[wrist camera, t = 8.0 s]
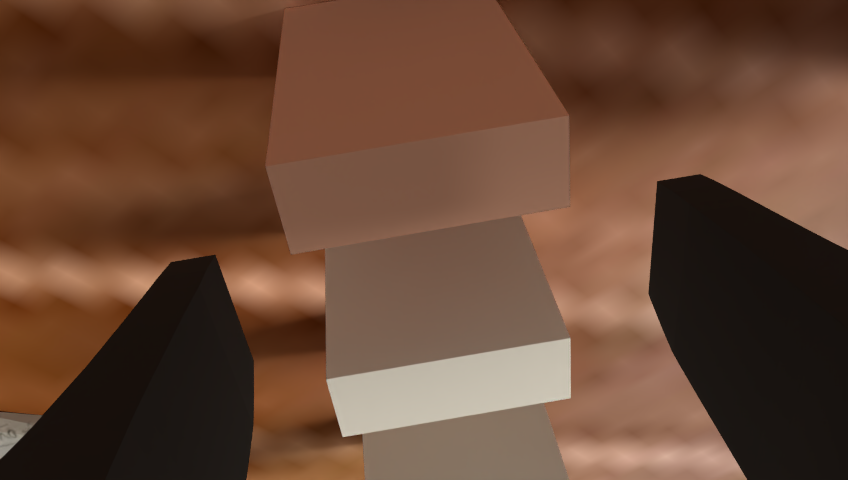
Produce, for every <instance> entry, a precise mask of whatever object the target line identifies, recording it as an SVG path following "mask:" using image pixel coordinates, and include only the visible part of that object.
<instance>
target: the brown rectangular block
mask: <svg viewBox="0 0 848 480" xmlns="http://www.w3.org/2000/svg"><path fill="white" fill-rule="evenodd" d="M265 167H266V171H267V174H268V177H269V181H270V184H271V188H272V191H273V195H274V198H275V201H276V205H277V208H278V212H279V215H280V219H281V222H282V225H283V229H284V232H285V236H286V239H287V243H288V246H289V249H290V253H291V254H297V253H303V252H309V251H315V250H320V249H326V248H332V247H338V246H344V245H350V244H356V243H362V242H367V241H373V240H379V239H385V238H391V237H397V236H403V235H408V234H414V233H420V232H426V231H432V230H438V229H444V228H449V227H455V226H461V225H467V224H473V223H479V222H485V221H491V220H496V219H502V218H508V217H514V216H520V215H526V214H532V213H537V212H543V211H549V210H555V209H561V208H567V207H570V140H569V114H568V113H567V111H566V109H565V108H564V106H563V105H562V103H561V102H560V100H559V98H558V97H557V95H556V94H555V92H554V90H553V89H552V87H551V86H550V84H549V83H548V81H547V79H546V78H545V76H544V75H543V73H542V72H541V70H540V68H539V67H538V65H537V64H536V62H535V60H534V59H533V57H532V56H531V54H530V53H529V51H528V49H527V48H526V46H525V45H524V43H523V42H522V40H521V38H520V37H519V35H518V34H517V32H516V30H515V29H514V27H513V26H512V24H511V23H510V21H509V19H508V18H507V16H506V15H505V13H504V12H503V10H502V8H501V7H500V5H499V4H498V2H497V0H335V1H329V2H323V3H317V4H311V5H305V6H299V7H292V8H286V9H284V17H283V25H282V33H281V41H280V50H279V58H278V66H277V74H276V83H275V91H274V99H273V107H272V115H271V124H270V132H269V140H268V148H267V156H266V165H265Z"/></svg>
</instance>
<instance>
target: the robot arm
mask: <svg viewBox="0 0 848 480" xmlns="http://www.w3.org/2000/svg"><path fill="white" fill-rule="evenodd" d="M649 296H650V299H651V301H652V304H653V306H654V309H655V311H656V314H657V316H658V319H659V321H660V324H661V326H662V329H663V331H664V333H665V336H666V338H667V340H668V343H669V345H670V347H671V350H672V352H673V354H674V356H675V357H676V359H677V361H678V363H679V365H680V366H681V368H682V370H683V371H684V373H685V375H686V377H687V378H688V380H689V382H690V384H691V385H692V387H693V389H694V390H695V392H696V394H697V396H698V397H699V399H700V401H701V402H702V404H703V406H704V407H705V409H706V411H707V412H708V414H709V416H710V418H711V419H712V421H713V423H714V424H715V426H716V428H717V429H718V431H719V433H720V434H721V436H722V438H723V439H724V441H725V443H726V444H727V446H728V448H729V450H730V451H731V453H732V455H733V456H734V458H735V460H736V461H737V463H738V465H739V466H740V468H741V470H742V471H743V473H744V475H745V477H746V478H747V480H848V250H847V249H845V248H843V247H841V246H839V245H837V244H835V243H833V242H831V241H829V240H827V239H825V238H823V237H821V236H819V235H817V234H815V233H813V232H811V231H809V230H807V229H805V228H803V227H802V226H800V225H798V224H796V223H794V222H792V221H790V220H788V219H786V218H785V217H783V216H781V215H779V214H777V213H775V212H773V211H771V210H770V209H768V208H766V207H764V206H762V205H760V204H758V203H757V202H755V201H753V200H751V199H749V198H747V197H745V196H743V195H742V194H740V193H738V192H736V191H734V190H732V189H730V188H728V187H726V186H724V185H722V184H720V183H718V182H716V181H714V180H712V179H710V178H708V177H705V176H703V175H701V174H699V175H693V176H687V177H681V178H675V179H669V180H663V181H657V192H656V205H655V217H654V230H653V243H652V256H651V269H650V282H649ZM253 418H254V361H253V358H252V355H251V352H250V350H249V347H248V344H247V341H246V338H245V336H244V333H243V330H242V327H241V325H240V322H239V319H238V316H237V314H236V311H235V308H234V305H233V302H232V300H231V297H230V294H229V291H228V289H227V286H226V283H225V280H224V278H223V275H222V272H221V269H220V266H219V264H218V261H217V258H216V255H211V256H205V257H199V258H193V259H187V260H181V261H175V262H171V263H170V264H169V265H168V267H167V268H166V269H165V270H164V271H163V272H162V274H161V275H160V276H159V277H158V278H157V280H156V281H155V282H154V283H153V285H152V286H151V287H150V288H149V290H148V291H147V292H146V294H145V295H144V296H143V297H142V299H141V300H140V301H139V302H138V304H137V305H136V306H135V307H134V309H133V310H132V311H131V313H130V314H129V315H128V316H127V318H126V319H125V320H124V321H123V323H122V324H121V325H120V326H119V327H118V329H117V330H116V331H115V332H114V334H113V335H112V336H111V337H110V338H109V340H108V341H107V342H106V343H105V345H104V346H103V347H102V348H101V349H100V351H99V352H98V353H97V354H96V356H95V357H94V358H93V359H92V360H91V362H90V363H89V364H88V365H87V366H86V368H85V369H84V370H83V371H82V372H81V373H80V374H79V375H78V377H77V378H76V379H75V380H74V381H73V382H72V383H71V384H70V385H69V387H68V388H67V389H66V390H65V391H64V392H63V393H62V394H61V395H60V397H59V398H58V399H57V400H56V401H55V402H54V403H53V404H52V405H51V407H50V408H49V409H48V410H47V411H46V412H45V413H44V414H43V415H42V417H41V418H40V419H39V420H38V421H37V422H36V423H35V424H34V425H33V426H32V428H31V429H30V430H29V431H28V432H27V433H26V434H25V435H24V436H23V437H22V438H21V439H20V440H19V441H18V442H17V443H16V444H15V445H14V446H13V447H12V448H11V449H10V450H9V451H8V452H7V453H6V454H5V455H4V456H3V457H2V458H1V459H0V480H246V478H247V471H248V463H249V456H250V448H251V441H252V433H253Z"/></svg>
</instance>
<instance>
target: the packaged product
mask: <svg viewBox="0 0 848 480" xmlns="http://www.w3.org/2000/svg"><path fill="white" fill-rule="evenodd" d="M41 417H42V415H31V414H19V413H7V412H0V459H1V458H2V457H3V456H4V455H5V454H6V453H7V452H8V451H9V450H10V449H11V448H12V447H13V446H14V445H15V444H16V443H17V442H18V441H19V440H20V439H21V438H22V437H23V436H24V435H25V434H26V433H27V432H28V431H29V430H30V429H31V428H32V426H33V425H34V424H35V423H36V422H37V421H38V420H39V419H40V418H41Z"/></svg>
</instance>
